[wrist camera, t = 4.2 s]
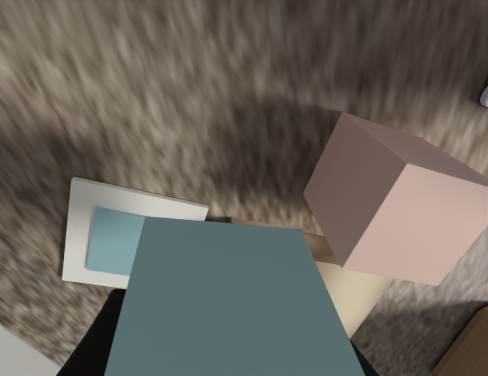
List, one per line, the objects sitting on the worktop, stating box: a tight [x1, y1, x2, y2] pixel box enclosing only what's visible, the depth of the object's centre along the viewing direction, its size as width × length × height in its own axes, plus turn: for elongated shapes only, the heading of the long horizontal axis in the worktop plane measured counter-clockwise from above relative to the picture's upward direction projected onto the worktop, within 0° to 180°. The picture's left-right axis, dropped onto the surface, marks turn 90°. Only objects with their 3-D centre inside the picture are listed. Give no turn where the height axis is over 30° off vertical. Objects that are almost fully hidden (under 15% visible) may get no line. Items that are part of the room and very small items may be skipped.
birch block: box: [230, 217, 395, 339], centre depth 21 cm, size 10×10×3 cm
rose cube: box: [303, 112, 488, 286], centre depth 15 cm, size 5×5×6 cm
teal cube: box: [104, 216, 365, 376], centre depth 9 cm, size 5×5×6 cm
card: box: [62, 177, 209, 289], centre depth 18 cm, size 7×7×1 cm
